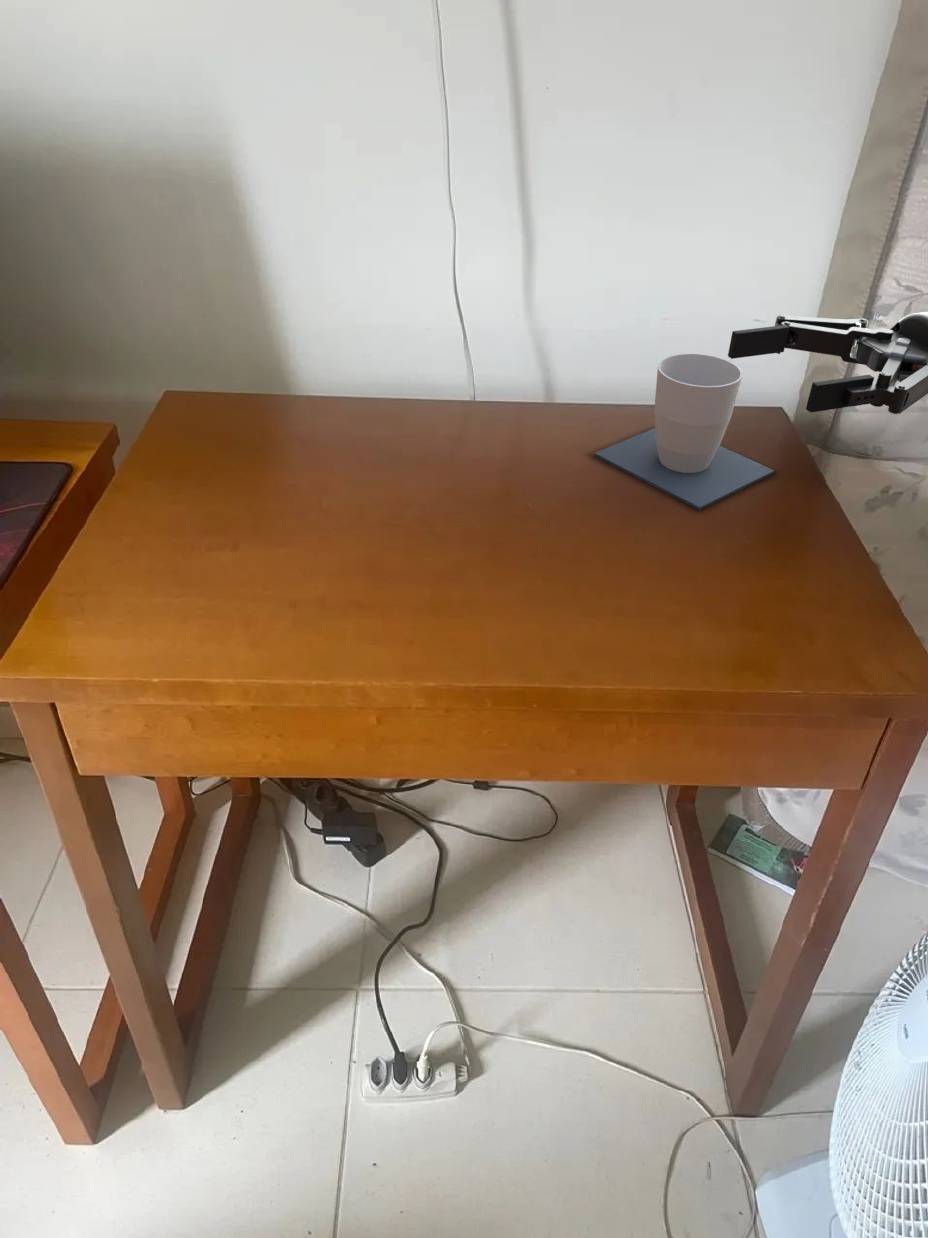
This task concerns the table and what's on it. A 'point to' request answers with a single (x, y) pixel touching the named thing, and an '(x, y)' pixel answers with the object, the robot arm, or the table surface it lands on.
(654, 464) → the mat
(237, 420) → the table surface
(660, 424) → the cup
